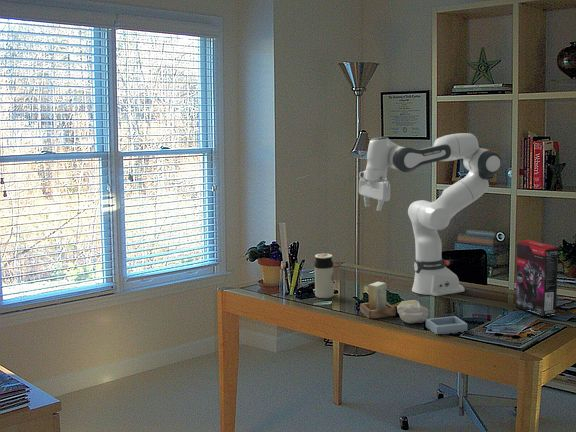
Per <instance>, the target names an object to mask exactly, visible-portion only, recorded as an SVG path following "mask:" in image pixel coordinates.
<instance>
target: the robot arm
mask: <svg viewBox="0 0 576 432" xmlns="http://www.w3.org/2000/svg"><path fill="white" fill-rule="evenodd" d="M367 147H368V148H367V153H366V160H367V163H366V167H365V170H363V171H360V172H359V175H358V176H359V182H358V194H359V195H361V196H363V200H364V201H363V202H364V207H365V208H370V207H371V203H370V199H375V200H377V203H378V204H377V205H376V207H375V211H378V212H382V210H383V209H382V208H383V206H384V203H385V202H389V201H390V200H391V184H390V181H389V178H387V177H388V168H390V169H395V170H397V171H400V172H403V173H411V172H413V171H414V170H416V169H418V168H419V167H421V166H423V165H427V164H432V163H435V162H452V161H457V160H459V162H460V165H461V166H462V168H463V169H465V170H466V171H468V173H467V174H466V175H465V176H464V177H463V178H462V179H459V180H458V181H456V182H454V183H453V184H452V185H450V186H448V187H446V188H444V190H442V192H441V194H440V196H439V197H438V198H437V199H435V200H434V201H428V200H425V199H424V200H423V199H420V200H415V201H413V202H412V203H410V205H409V207H408V208H407V215H408V217H409V220H410V222H411V225H412V231H413V236H414V243H415V244H414V246H415V258H414V263H413V266H414V269H413V270H414V281H413V285H412V288H411V291H412V292H413V293H416V294H419V295H424V296H427V295H428V296H434V297H440V296H445V295H450V294H459V293H462V292H465V291H466V290H465V287H464V286H463V285H461V284H460V280H459V277H458V276H457V274H456V273H454V272H453V271H452V270H450V268H448V267H447V266H449V265H450V261H449V260H447V259H444V258H442V239H441V238H440V234H439V231H442V230H445V229H446V228H447V227H448V226H449V225H450V222H451V219H452V218H453V217H455V215H457V214H458V213H459V212H460V211H461V210H463V209H465V208H466V207H468V206H469V205H470V204H472V203H474V202H475V201H476V200H479V198H480V197H482V196H483V195H484V194H485V193H486V192H487V191H488V190H489V185H490V183H489V180H492V179H493V178H494V177H495V175H496V174H497V173H498V172H499V171H500V170H501V167H502V164H503V160H502V157H501V156H500V154H498V152H496V151H494V150H491V149H487V148H481V147H480V146H479V141H478V139H477V136H475V135H474V134H472V133H471V132H469V133H468V132H467V133H466V132H465V133H464V132H460V133H452V134H451V133H450V134H447V135H442V136H440V137H437V138H436V139H435V141H434V142H433V145H432V146H429V147H425V148H421V149H415V148H412V147H408V146H407V147H406V146H405V147H404V146H401V145H399V144H397V143H394V142H393V141H392V140H391V139H389V137H387V136H377V137H373V138H371V139H370V140H369V143H368V146H367Z"/></svg>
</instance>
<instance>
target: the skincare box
mask: <svg viewBox="0 0 576 432" xmlns="http://www.w3.org/2000/svg"><path fill="white" fill-rule="evenodd" d="M367 287H368V303H369V309H370V310H378V309H387V307H386V302H387V283H386V282H383V281H375V282H372V283H370V284H368V286H367Z"/></svg>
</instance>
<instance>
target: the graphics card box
mask: <svg viewBox="0 0 576 432" xmlns="http://www.w3.org/2000/svg"><path fill="white" fill-rule="evenodd" d="M558 261H559V246H554V245H551V244H547V243H543V242H540V241H536V240H532V239H524V240H523V239H522V240H519V241H517V242H516V274H515V280H516V281H515V305H514V306H515V307H514V308H517V309H520V310H522V311H525V310H531V311H535V312H537V313H539V314H540V315H542V316H547V315H551V314H556V315H557V299H558V298H557V292H558V265H559V262H558Z"/></svg>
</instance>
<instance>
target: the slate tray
mask: <svg viewBox="0 0 576 432" xmlns="http://www.w3.org/2000/svg"><path fill="white" fill-rule="evenodd" d="M425 328H427V330H429V329H430V330H431V331H430V330H429V331H430V332H431V333H433V332H434V333H433V334H434V335H436V334H437V335H436V336H439V335H438V334H443V335H449V334H450V333H452V334H459V333H458V332H461V333H465V332H464V331H467V332H468V323H467V322H466V321H464V320H463V319H461V318H459V317H458V316H457V315H452V316H445V317H443V316H442V317H433V318H427V319H426V320H425Z"/></svg>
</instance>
